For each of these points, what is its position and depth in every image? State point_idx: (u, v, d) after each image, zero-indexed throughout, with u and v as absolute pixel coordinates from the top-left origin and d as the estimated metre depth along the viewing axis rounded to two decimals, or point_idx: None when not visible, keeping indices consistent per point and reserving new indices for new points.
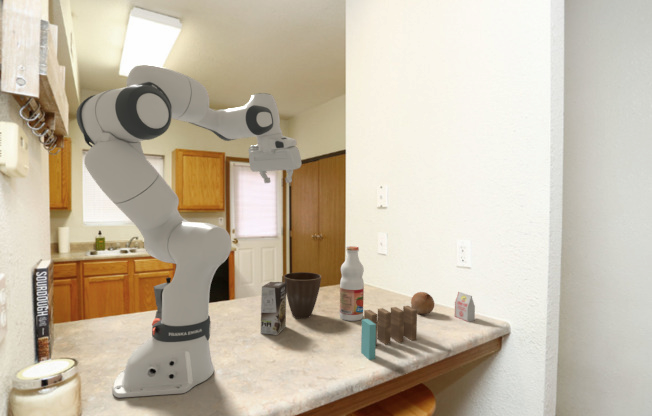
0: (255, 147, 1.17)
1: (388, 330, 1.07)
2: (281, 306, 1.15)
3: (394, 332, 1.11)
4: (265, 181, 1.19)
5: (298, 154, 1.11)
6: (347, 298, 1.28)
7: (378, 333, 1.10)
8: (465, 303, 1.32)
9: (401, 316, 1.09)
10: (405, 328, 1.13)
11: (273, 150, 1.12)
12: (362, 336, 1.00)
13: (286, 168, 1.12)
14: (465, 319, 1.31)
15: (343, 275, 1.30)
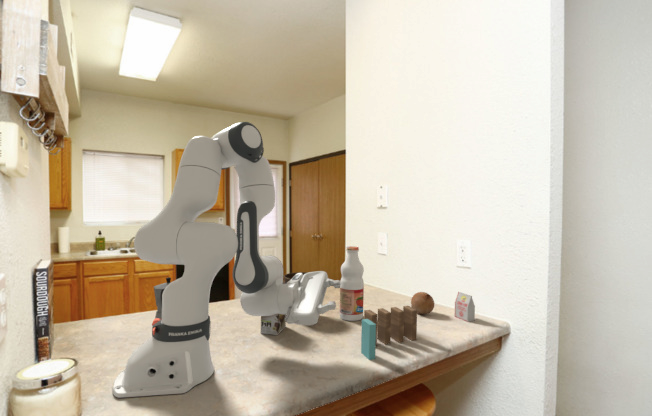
0: (289, 312, 0.93)
1: (388, 330, 1.07)
2: None
3: (394, 332, 1.11)
4: (331, 303, 0.91)
5: None
6: (347, 298, 1.28)
7: (378, 333, 1.10)
8: (465, 303, 1.32)
9: (401, 316, 1.09)
10: (405, 328, 1.13)
11: (299, 286, 1.00)
12: (362, 336, 1.00)
13: (322, 278, 1.01)
14: (465, 319, 1.31)
15: (343, 275, 1.30)
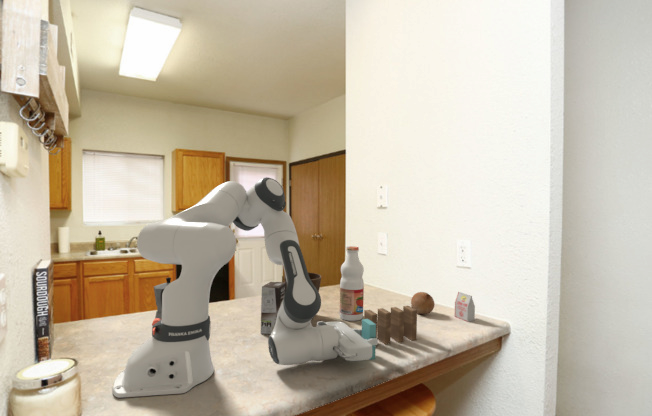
0: (339, 350, 0.88)
1: (388, 330, 1.07)
2: None
3: (394, 332, 1.11)
4: (374, 338, 0.95)
5: None
6: (347, 298, 1.28)
7: (378, 333, 1.10)
8: (465, 303, 1.32)
9: (401, 316, 1.09)
10: (405, 328, 1.13)
11: None
12: (362, 336, 1.00)
13: (346, 325, 1.02)
14: (465, 319, 1.31)
15: (343, 275, 1.30)
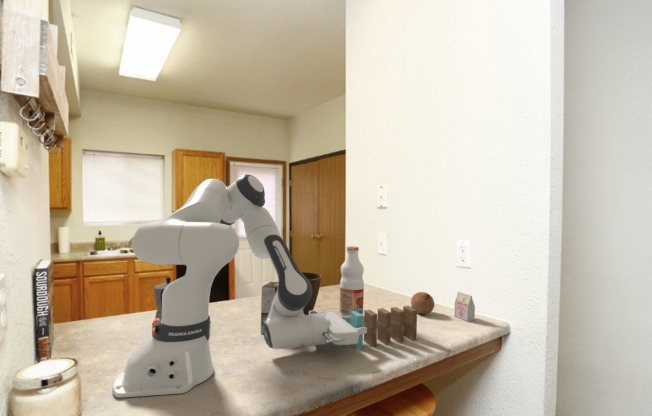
0: (328, 335, 0.95)
1: (388, 330, 1.07)
2: None
3: (394, 332, 1.11)
4: (363, 327, 1.01)
5: None
6: (347, 298, 1.28)
7: (378, 333, 1.10)
8: (465, 303, 1.32)
9: (401, 316, 1.09)
10: (405, 328, 1.13)
11: None
12: None
13: (336, 314, 1.10)
14: (465, 319, 1.31)
15: (343, 275, 1.30)
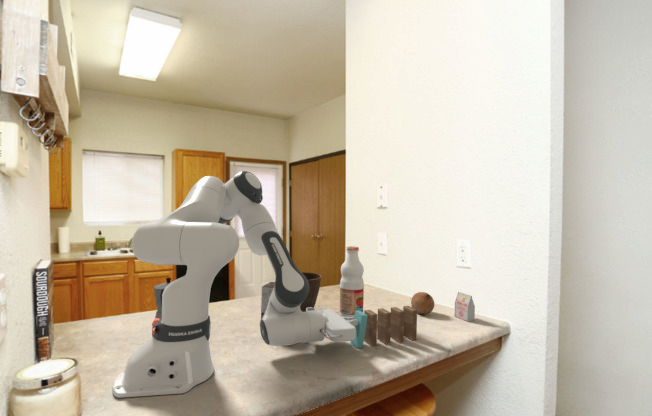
0: (325, 331, 0.95)
1: (388, 330, 1.07)
2: None
3: (394, 332, 1.11)
4: (355, 319, 1.05)
5: None
6: (347, 298, 1.28)
7: (378, 333, 1.10)
8: (465, 303, 1.32)
9: (401, 316, 1.09)
10: (405, 328, 1.13)
11: None
12: None
13: (334, 311, 1.10)
14: (465, 319, 1.31)
15: (343, 275, 1.30)
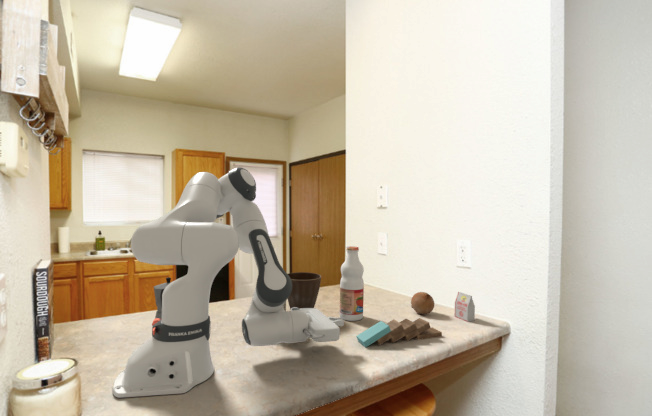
0: (308, 332, 0.93)
1: (402, 334, 1.09)
2: None
3: None
4: (340, 319, 1.02)
5: None
6: (347, 298, 1.28)
7: None
8: (465, 303, 1.32)
9: (426, 327, 1.13)
10: None
11: None
12: (370, 328, 1.09)
13: (319, 311, 1.07)
14: (465, 319, 1.31)
15: (343, 275, 1.30)
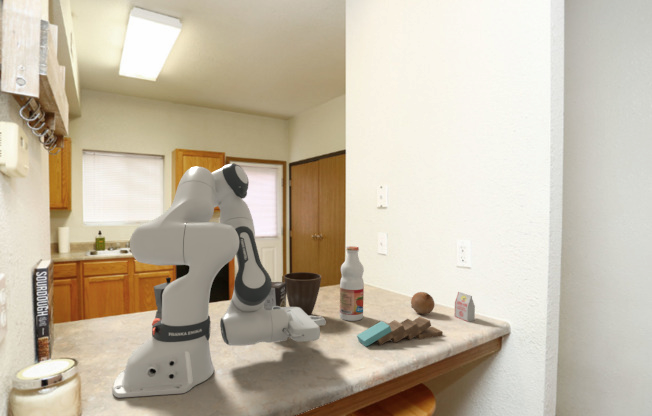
0: (287, 331, 0.91)
1: (404, 334, 1.09)
2: (281, 306, 1.15)
3: None
4: (322, 318, 1.01)
5: None
6: (347, 298, 1.28)
7: None
8: (465, 303, 1.32)
9: (427, 325, 1.14)
10: None
11: None
12: (370, 328, 1.10)
13: (302, 310, 1.05)
14: (465, 319, 1.31)
15: (343, 275, 1.30)
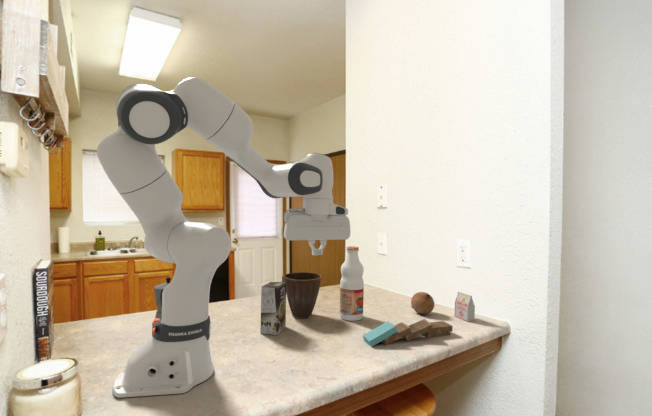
0: (296, 211, 0.97)
1: (417, 334, 1.10)
2: (281, 306, 1.15)
3: None
4: (315, 252, 0.99)
5: None
6: (347, 298, 1.28)
7: None
8: (465, 303, 1.32)
9: (448, 329, 1.15)
10: None
11: (327, 216, 0.99)
12: (376, 328, 1.10)
13: (338, 237, 1.00)
14: (465, 319, 1.31)
15: (343, 275, 1.30)
